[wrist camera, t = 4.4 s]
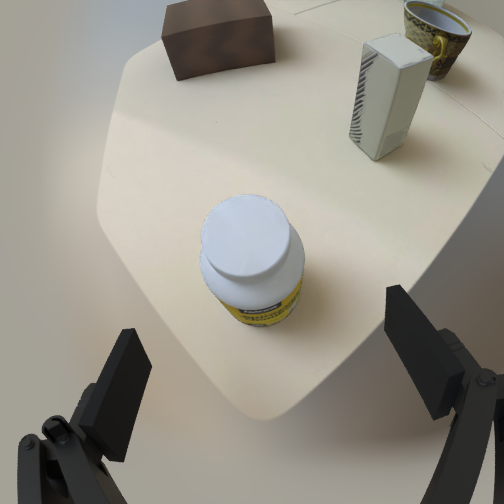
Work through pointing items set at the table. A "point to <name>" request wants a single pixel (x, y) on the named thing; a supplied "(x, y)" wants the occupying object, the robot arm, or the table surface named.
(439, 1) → the vase
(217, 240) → the pill bottle
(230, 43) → the wooden block
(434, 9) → the ceramic cup
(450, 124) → the table surface
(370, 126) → the box
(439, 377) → the robot arm
